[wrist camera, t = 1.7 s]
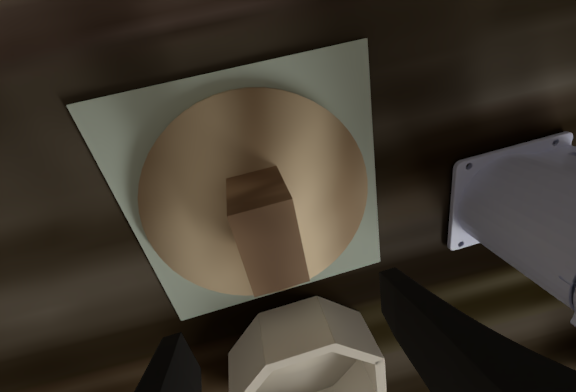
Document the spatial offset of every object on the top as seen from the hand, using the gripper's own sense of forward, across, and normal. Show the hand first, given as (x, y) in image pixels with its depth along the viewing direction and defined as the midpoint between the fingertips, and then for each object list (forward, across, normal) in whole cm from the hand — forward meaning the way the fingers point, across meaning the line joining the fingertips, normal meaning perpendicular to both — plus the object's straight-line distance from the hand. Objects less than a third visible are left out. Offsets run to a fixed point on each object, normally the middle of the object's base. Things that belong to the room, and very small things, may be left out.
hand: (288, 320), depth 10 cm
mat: (+10, 0, 0) cm, 10 cm away
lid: (+10, 0, 0) cm, 10 cm away
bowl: (+10, 0, +16) cm, 19 cm away
